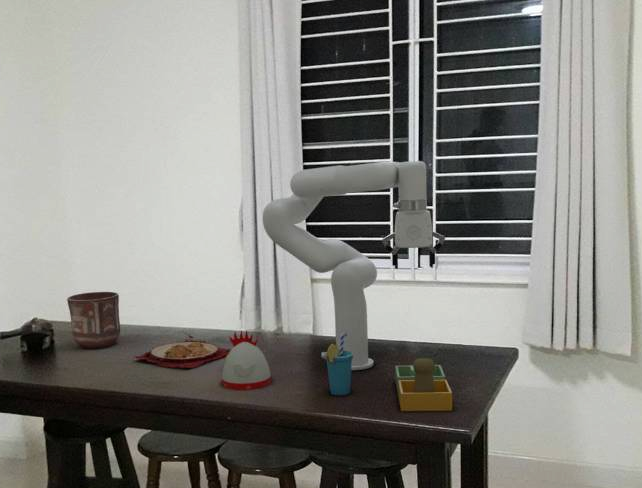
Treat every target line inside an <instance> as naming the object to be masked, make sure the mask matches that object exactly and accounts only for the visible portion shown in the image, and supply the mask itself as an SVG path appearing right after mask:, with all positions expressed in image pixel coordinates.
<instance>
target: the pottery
mask: <svg viewBox="0 0 642 488" xmlns="http://www.w3.org/2000/svg"><path fill="white" fill-rule="evenodd" d="M66 300H67V301H66V302H67V305H68V310H69V315H70V323H71V335H72V336H71V337H72V338H73V340H74V342H75V343H76V345H78V346H80V347H81V348H82V349H91V350H92V349H103V348H108V347H111V346H114V345H115V344H116V342H117V341H118V339H119V337H120V334H121V322H120V321H121V319H120V305H119V304H120V296H119V293H118V292H115V291H92V292H83V293H78V294H73V295H71V296H69V297H67V299H66Z"/></svg>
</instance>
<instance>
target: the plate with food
mask: <svg viewBox="0 0 642 488" xmlns="http://www.w3.org/2000/svg"><path fill="white" fill-rule="evenodd" d="M187 336H188V338H186V339H184V341H177V342H171V343H165V344H161V345H157V346H155V347H152V348H151V349H150V350H149V351H147V352H145V353H144V354H141V355H133V358H134V359H135V358H136V359H140V360H142V361H146V362H150V363H154V364H155V365H157V366H160V367H164V368H174V369H176V368H178V369H186V368H187V369H194V368H196V367H199V366H202V365H203V364H204V363H208V362H210V361H213V360H216V359H221V358H223V357H226V356H227V355H228V354H229V352H230V351H231V349H232V348H229V349H228V348H227V349H226V348H221V347H218V346H217V345H215V344H213V343H208V341H206V340H205V339H203V341H202V340H193V339H194V336H192V335H190V334H187ZM156 363H157V364H156Z"/></svg>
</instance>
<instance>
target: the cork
mask: <svg viewBox="0 0 642 488" xmlns="http://www.w3.org/2000/svg"><path fill="white" fill-rule="evenodd" d="M412 365H413V368H414V371H415V381H414V389H413V393H430V392H435V387H434V381H433V374H432V372H433V370H434V365H435V362H434V361H433V359H432V358H426V357H420V358H416V359H415V360H414V361H413V364H412Z"/></svg>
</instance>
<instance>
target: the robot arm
mask: <svg viewBox="0 0 642 488" xmlns="http://www.w3.org/2000/svg"><path fill="white" fill-rule="evenodd" d="M289 185H290V186H289V187H290V190H291V193H293V194H292V195H290V197H289V196H288V197H282V198H277V199H274V200H272V201H270V202H268V203H267V204H266V206H265V207H264V208H263V211H262V225H263V229H264V231H265V233H266V235H267V236H268V237H269V239H270V240H271V241H272V242H273V243H274V244H276V245H277V246H278V247H280V248H281V249H282V250H284V251H286V252H288V253H289V254H290V255H292V256H293V257H295V258H296V260H298V261H300V262H301V263H303V264H304V265H306V266H307V267H308V268H309V269H311V270H313V271H314V272H317V273H319V274H324V273H328V272H331V271H332V272H331V276H330V285H331V292H332V296H333V306H334V324H335V325H334V328H335V330H334V331H335V345H338V349H339V350H340V343H341V335H342V334H345V333H346V334H347V336H345V337H344V343H343V350H344V351H350V352H352V354H353V359H352V366H351V371H361V370H367V369H370V368H372V367H373V366H374V364H375V362H374V360H373V359H372V358H369V336H368V335H369V334H368V306H367V299H366V295H365V291H364V289H367V288H369V287H371V286H372V285H373V284H375V281H376V280H377V277H378V270H377V267H376V265H375V263H374V262H373V260H371V259H370V258H369V257H367V256H366V255H364V254H363V253H361V252H360V251H358V250H357V249H355V247H353V246H351V245H349V244H348V243H347V242H344V241H343V240H340V239H336V238H328V239H320V238H319V237H316V236H315V235H313V234H311V233H310V232H309V231H307V230H306V229H304V228H303V227H300V226H298V225H297V224H300V223H302V222H304V221H305V220H306V219H307V218H309V216H310V215H311V213H312V212H313V211H314V210H315V209H316V207H317V206H318V205H319V203H320V202H321V201H322V199H324V197H334V196H344V195H347V194H351V193H353V194H354V193H363V192H373V191H383V190H388V189H395V188H398V201H397V202H394V203H393V208H394V209H397V210H398V211H397V212H396V214H395V221H394V222H395V223H394V232H392V233H390V234H388V235H387V236H385V237H383V238H381V242H382V244H383V245H384V247H385V249H386V250H387V251H388V252H389V253H390V254H391V263H392V264H391V265H392V266H394V269H395V270H397V269H399V255H398V251H399V250H400V249H416V248H417V249H418V248H420V249H421V248H428V249H429V253H428V258H429V259H428V265H429V268H431V269H433V268H434V265H436V253H437V252H438V251H439V250H440V248H442V246H443V244H444V242H445V241H446V236H444V235H443V234H440V233H438V232H435V231H433V226H432V225H433V224H432V223H433V222H432V217H431V211H430V210H427V209H428V208H427V207H428V206H427V204H428V203H427V199H428V198H427V165H426V163H425V162H424V161H422V160H412V161H411V160H410V161H403V162H402V161H401V162H399V161H378V162H370V163H362V164H361V163H360V164H354V165H332V166H324V167H323V166H322V167H316V168H307V169H301V170H299V171H297V172H295V173H294V174H293V175H292V176H291V178H290V182H289ZM433 237H434V238H436V239H437V240H438V241H437V243H436V244H435V245H434V246H433ZM393 239H394V243H395V245H394V246H393V247H392V246H391V245H390V244H389V241H391V240H393ZM325 353H327V351H326V352H325V351H322V352H321V354H320V355H321V359H324V360H325V361H327V360H326V358H325Z"/></svg>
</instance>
